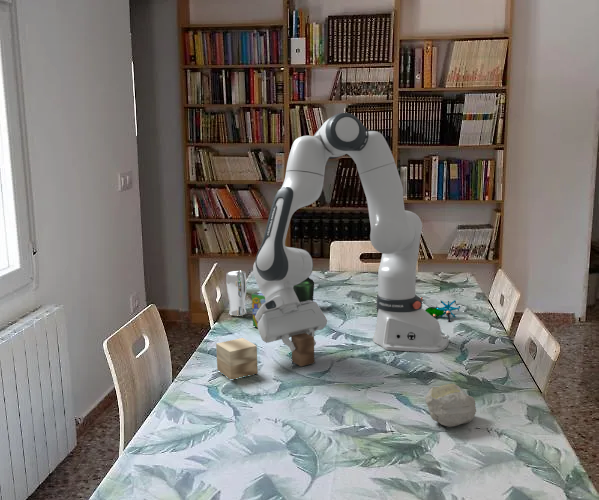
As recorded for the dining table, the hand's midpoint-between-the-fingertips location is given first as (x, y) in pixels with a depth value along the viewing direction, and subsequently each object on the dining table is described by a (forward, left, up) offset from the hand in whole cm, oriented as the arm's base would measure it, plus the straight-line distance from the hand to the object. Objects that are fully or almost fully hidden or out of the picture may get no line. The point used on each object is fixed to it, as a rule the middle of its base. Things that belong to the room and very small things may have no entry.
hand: (304, 347), depth 184 cm
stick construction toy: (-27, -55, -5) cm, 61 cm away
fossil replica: (-45, +21, -5) cm, 50 cm away
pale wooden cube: (+14, +12, -5) cm, 19 cm away
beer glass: (+40, -36, -5) cm, 54 cm away
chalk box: (+23, -28, -5) cm, 37 cm away
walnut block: (+1, 0, -4) cm, 4 cm away
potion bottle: (+21, -50, -5) cm, 54 cm away
